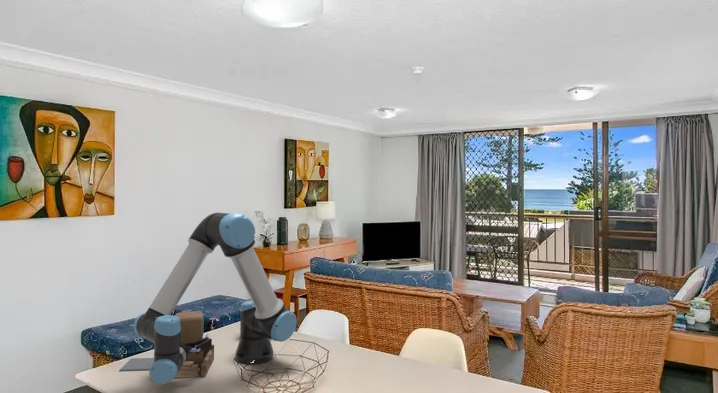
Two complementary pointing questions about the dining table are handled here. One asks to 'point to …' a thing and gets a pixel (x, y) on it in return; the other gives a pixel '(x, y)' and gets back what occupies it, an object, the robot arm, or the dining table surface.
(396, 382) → the dining table surface
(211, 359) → the brown wooden tray
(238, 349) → the robot arm
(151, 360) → the felt pad
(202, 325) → the wooden block
